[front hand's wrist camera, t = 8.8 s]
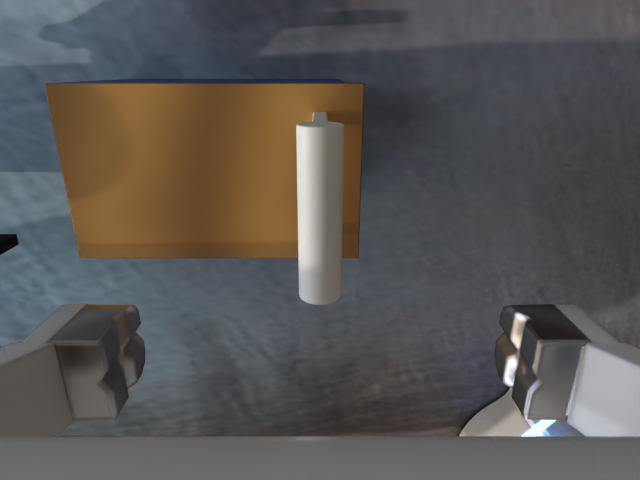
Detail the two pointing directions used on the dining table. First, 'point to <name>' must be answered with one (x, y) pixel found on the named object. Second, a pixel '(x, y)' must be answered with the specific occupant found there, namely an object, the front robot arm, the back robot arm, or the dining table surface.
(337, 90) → the lid
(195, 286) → the dining table surface
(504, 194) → the dining table surface
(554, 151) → the dining table surface
